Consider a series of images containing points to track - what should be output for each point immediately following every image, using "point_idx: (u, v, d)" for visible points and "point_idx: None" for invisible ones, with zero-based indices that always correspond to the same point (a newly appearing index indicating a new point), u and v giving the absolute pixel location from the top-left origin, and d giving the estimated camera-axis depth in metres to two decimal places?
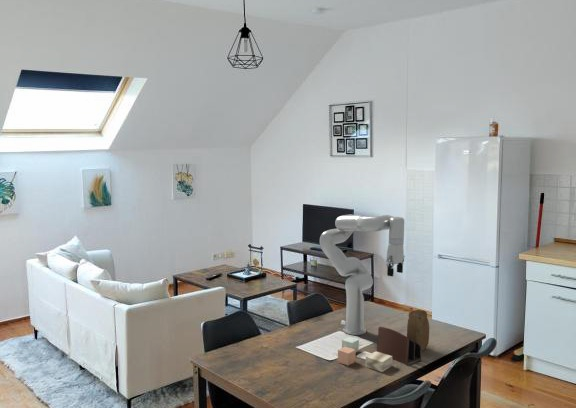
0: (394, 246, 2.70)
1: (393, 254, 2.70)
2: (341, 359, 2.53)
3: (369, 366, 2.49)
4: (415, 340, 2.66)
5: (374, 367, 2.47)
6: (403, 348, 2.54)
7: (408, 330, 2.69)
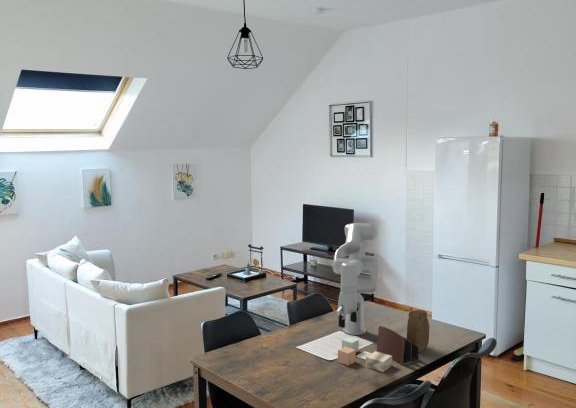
0: (345, 295, 2.47)
1: (344, 304, 2.47)
2: (341, 359, 2.53)
3: (369, 366, 2.49)
4: (415, 340, 2.66)
5: (374, 367, 2.47)
6: (399, 348, 2.54)
7: (408, 330, 2.69)
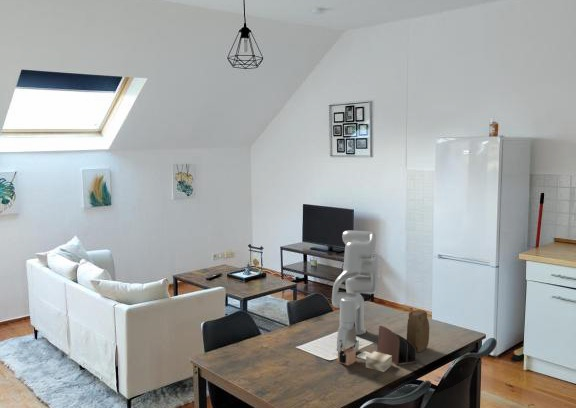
0: (344, 330, 2.49)
1: (343, 339, 2.49)
2: None
3: (370, 366, 2.48)
4: (415, 340, 2.66)
5: (375, 367, 2.47)
6: (395, 348, 2.54)
7: (408, 330, 2.69)
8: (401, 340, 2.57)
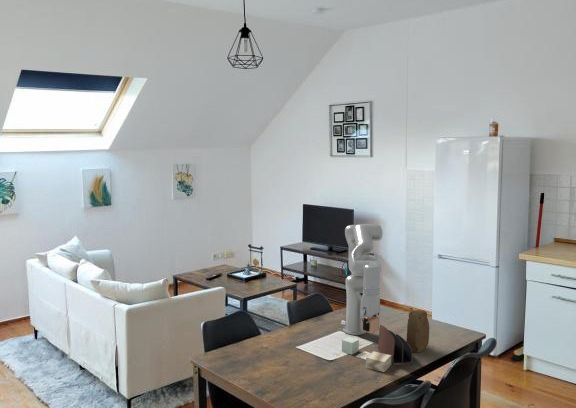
0: (368, 297, 2.44)
1: (367, 306, 2.44)
2: None
3: (370, 367, 2.48)
4: (415, 340, 2.66)
5: (375, 367, 2.47)
6: (390, 348, 2.54)
7: (408, 330, 2.69)
8: (398, 340, 2.56)
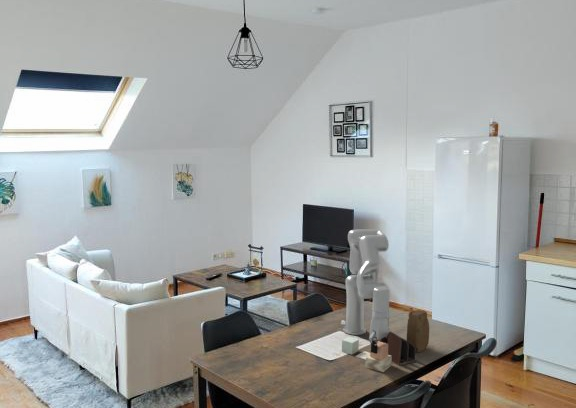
0: (378, 320, 2.44)
1: (377, 329, 2.44)
2: (374, 354, 2.48)
3: (369, 367, 2.48)
4: (415, 340, 2.66)
5: (374, 367, 2.47)
6: (396, 348, 2.54)
7: (408, 330, 2.69)
8: (400, 340, 2.57)
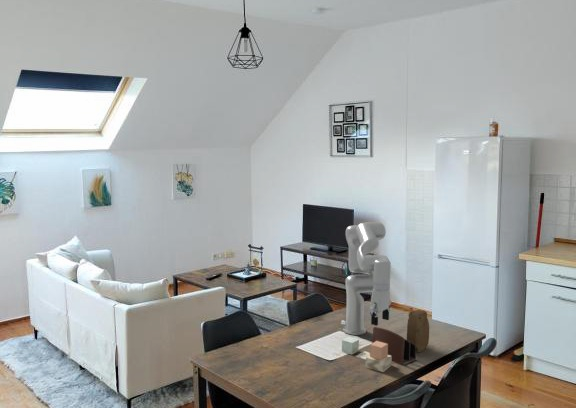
0: (379, 292, 2.43)
1: (377, 301, 2.43)
2: (374, 354, 2.48)
3: (369, 367, 2.48)
4: (415, 340, 2.66)
5: (374, 367, 2.47)
6: (398, 348, 2.54)
7: (408, 330, 2.69)
8: None
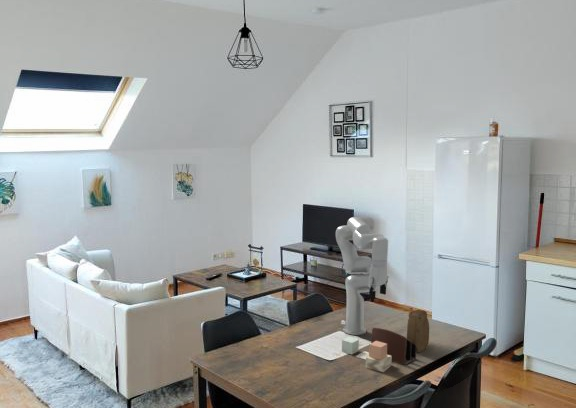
0: (376, 268, 2.59)
1: (375, 276, 2.59)
2: (373, 354, 2.48)
3: (369, 367, 2.48)
4: (415, 340, 2.66)
5: (374, 367, 2.47)
6: (400, 348, 2.54)
7: (408, 330, 2.69)
8: None
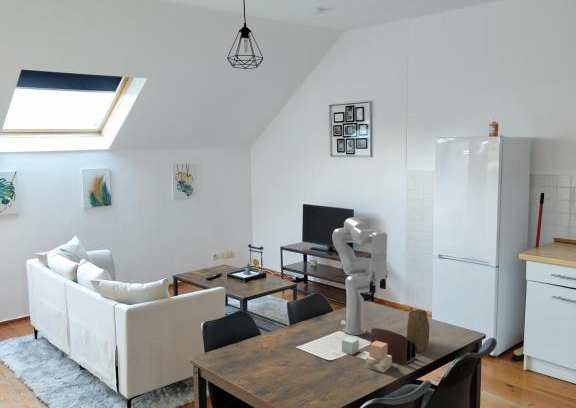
0: (376, 262, 2.62)
1: (375, 270, 2.62)
2: (374, 354, 2.48)
3: (370, 367, 2.48)
4: (415, 340, 2.66)
5: (375, 367, 2.47)
6: (400, 348, 2.54)
7: (408, 330, 2.69)
8: None
